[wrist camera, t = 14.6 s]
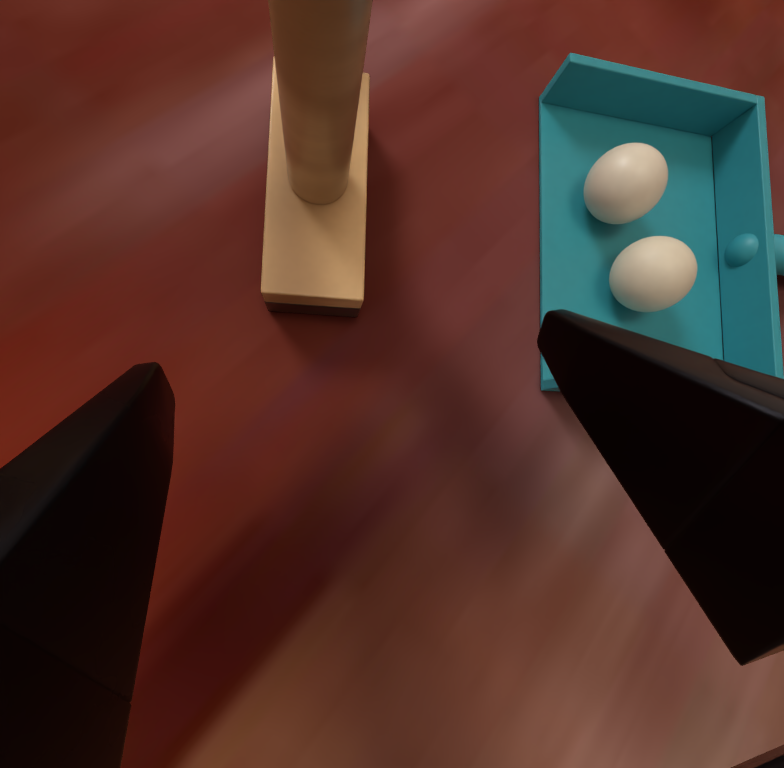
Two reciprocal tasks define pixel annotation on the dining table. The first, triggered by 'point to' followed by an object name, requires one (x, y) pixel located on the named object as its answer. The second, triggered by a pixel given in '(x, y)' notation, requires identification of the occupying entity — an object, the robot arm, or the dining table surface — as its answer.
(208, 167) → the dining table surface
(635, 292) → the beige rounded piece
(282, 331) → the dining table surface
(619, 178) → the cream oval piece
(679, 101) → the dustpan
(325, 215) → the brush
